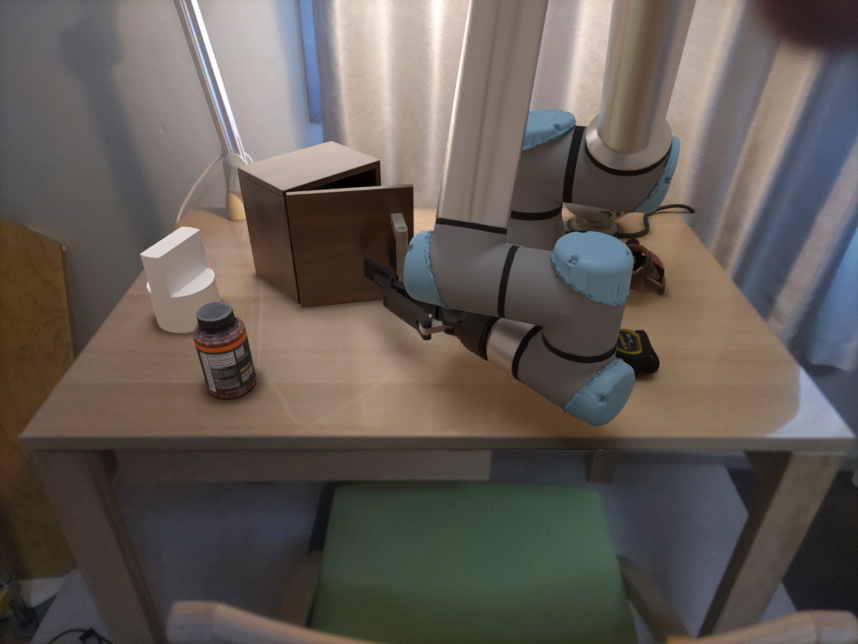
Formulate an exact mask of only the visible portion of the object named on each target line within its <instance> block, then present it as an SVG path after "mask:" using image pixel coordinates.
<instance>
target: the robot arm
mask: <svg viewBox="0 0 858 644" xmlns="http://www.w3.org/2000/svg"><path fill="white" fill-rule="evenodd" d="M549 1H550V0H469V3H468V9H467V14H466V15H467V16H466V22H465V29H464V33H463V34H464V35H463V41H462V47H461V55H460V59H459V65H458V71H457V78H456V83H455V84H456V85H455V91H454V97H453V103H452V110H451V116H450V122H449V129H448V136H447V143H446V147H445V156H444V161H443V166H442V174H441V180H440V186H439V191H438V192H439V193H438V199H437V204H436V210H435V221H434V226H433V229H431V230H420V231H418V232H416V233H414V237H413V238H412V240H411V242H410V244H409V249H408V253H407V255H406V257H405V262H404V272H403V275H404V283H403V282H401V281H399V276H398V275H397V274H395V273H393V272H392V271H390V270H388V269H386V268H385V267H383V266H381V265H380V264H378V263H376V262H374V261H373V260H371V259H369V258H366V259H363V260H364V276H365V277H366V278H368V279H370V280H371V281H373V282H374V285H375V287H377V288H379V289H380V290H382V299H381V300H382V307H384V309H386V310H388V311H389V312H391V313H392V314H393V315H394V316H396V317H397V318H399V319H400V320H402V321H403V322H404V323H405V324H407V325H409V326H410V327H412V328H413V329H414V330H416V331H417V333H418V334H419V336H420V338H421V340H423V341H431V340H432V338H433V334H437V333H442V332H443V333H444V334H446V335H449V336H453V337H456V338H457V339H458V340H459V341H460V343H461V344H462V345H463V347H465V348H466V349H467V350H468V351H470V352H471V353H473V354H474V355H476V356H477V357H479V358H481V359H482V360H484V361H487V362H489V363H490V364H491V365H493V366H494V367H496V368H497V369H499V370H500V371H502V372H504V373H505V374H507V375H508V376H509V377H511V378H512V379H514V380H516V381H518V382H519V383H521V384H522V385H524V386H526V387H527V388H529V389H530V390H532V391H533V392H535V393H536V394H538V395H540V396H541V397H543V398H544V399H546V400H547V401H548V402H550V403H552V404H553V405H555V406H556V407H558V408H560V409H561V410H562V412H563V413H565V414H567V415H568V414H569V415H571V416H572V417H574V418H576V419H578V420H580V421H582V422H584V423H586V424H587V425H590V426H593V427H603V426H605V425H607V424H609V423H610V422H611V421H613V420H614V419H615V418H616V417H617V416H618V415H619V414H620V413H621V411H622V410H623V409H624V407H625V405H626V404H627V402H628V401H629V400H630V399H629V398H630V397H631V395H632V392H633V390H634V387H635V383H636V375H634V370H633V368H632V367H631V366H630V365H628V364H626V363H625V362H623V360H622V359H619V358H616V357H615V354H616V350H617V339H618V335H619V331H620V329H621V328H622V322H623V318H624V315H625V310H626V306H627V302H628V300H629V297H630V296H629V295H630V290H629V288H630V282H631V276H632V274H633V272H634V271H633V265H634V261H633V255H632V253H631V251H630V249H629V248H628V247H627V245H626V244H625V242H623V241H622V240H621V239H618V238H635V237H640V236H643V235H645V234H647V233H648V232H649V230H650V222H649V219H648V217H649V215H651V214H654V213H656V212H660V211H664V210H669V209H684V210H687V211H688V212H689V213H691V214H695V213H696V211H695V209H694V208H693V207H691V206H690V205H687V204H684V203H671V204H665V205H662V203H664V201H665V198H666V196H667V194H668V191H669V189H670V187H671V181H672V180H673V177H674V175H675V172H676V168H677V164H678V161H679V156H680V150H681V141H680V138H678V136H676V135H673V132H672V128H671V125H670V123H669V121H668V120H667V115H668V112H669V108H670V104H671V99H672V96H673V92H674V87H675V84H676V80H677V76H678V73H679V69H680V64H681V61H682V57H683V54H684V49H685V45H686V42H687V37H688V33H689V30H690V26H691V22H692V19H693V18H692V17H693V14H694V10H695V6H696V3H697V0H612V4H611V13H610V21H609V29H608V38H607V45H606V53H605V62H604V70H603V71H604V72H603V80H602V87H601V97H600V102H599V113H598V114H597V115H595V116H594V117H593V119H592V120H591V121H590V123H589V124H588V125H578V124H577V120H576V116H575V115H574V114H573V113H572V112H570V111H564V110H563V109H548V108H547V109H536V110H530V108H531V102H532V98H533V91H534V87H535V81H536V74H537V70H538V63H539V58H540V52H541V47H542V41H543V35H544V29H545V24H546V19H547V13H548V6H549ZM564 203H571V204H578V205H584V206H591V207H597V208H604V209H610V210H616V211H623V212H626V213H627V214H634V213H639V214H643V224H644V229H642V230H640V231H635V232H620V233H616V234H617V237H616V238H615V237H613V236H610V235H607V234H604V233H600V232H594V231H568V230H566V229H565V228H566V227H565V223H564V219H563V207H564ZM389 265H390V266H391V267H393V268H395V269H396V270H397V264H396V249H395V248H394V247H392V248H390V249H389Z"/></svg>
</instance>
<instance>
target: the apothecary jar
mask: <svg viewBox="0 0 858 644" xmlns="http://www.w3.org/2000/svg"><path fill="white" fill-rule="evenodd" d="M563 205H564V206H565V207H566V209H567V210H568V211H569V212H570V213H571V214H572V215H574V216H575V217H573V218H570V219H569V220H568V221H567V222H566V224H565V228H566V231H594V232H600V233H604V234H607V235H610V236H613V237H615V238H618V237H617V234H616V233H621V227H620V225H619V224H618V223H617V222H615V221H616V220H619V219H621V218H623V217H625V216H626V215H627V214H628V213H626V212H623V211H616V210H610V209H604V208H597V207H591V206H584V205H578V204H571V203H564V202H563Z"/></svg>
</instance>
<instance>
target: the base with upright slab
mask: <svg viewBox="0 0 858 644" xmlns="http://www.w3.org/2000/svg"><path fill="white" fill-rule="evenodd" d="M204 246H205V245H204V241H203V238H202V233H201V229H199V228H195V227H193V226H192V227H191V226H181V227H179V228H177V229H176V230H174V231H172V232H171V233H169V234H168V235H166V236H165V237H163V238H162V239H161V240H158V241H157V242H156V243H154V244H153V245H151V246H149V247H148V248H147V249H145V250H144V251H142V252H141V253H139V256H140V259H141V262H142V266H143V270H144V272H145V275H146V279H147V282H146V290H147V293H148V296H149V299H150V302H151V305H152V309H153V313H154V315H155V319H156V323H157V325H158V326H159V327H160V329H162V330H163V331H166V332H169V333H173V334H189V333H193V331H194V329H195V327H196V325H197V324H198V322H197V316H196V313H197V310H198V309H199V308H200V307H201V306H203V305H205V304H207V303H211V302H222V301H221V296H220V291H219V288H218V287H219V286H218V283H217V279H216V274H215V272H214V271H213V269H212V268H210V267H209V263H208V259H207V254H206V250H205V247H204Z"/></svg>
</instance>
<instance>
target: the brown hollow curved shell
mask: <svg viewBox="0 0 858 644" xmlns="http://www.w3.org/2000/svg"><path fill="white" fill-rule="evenodd" d="M624 244H626V245H627V247H628V248H629V249H630V251H631V253H632V255H633V261H634V265H633V271H632V276H631V282H630V288H629V291H636V290H637V291H639V292H644V291H645V289H644V280H645V279H646V280H650V281H651V280H653V281H655V282H657V283H658V284H659V285H660V287H661V295H663V296H664V295H665V294H666V287H667V280H666V276H665V275H666V274H665V273H666V271H665V267H664V264H663V262H662V261H661V259H660V258H659V256H658V255H657V254H655V253H653V252H652V251H650V250H649V249H648V248H647V247H646V246H644V245H641V243H640V240H638V238H637V237H636V238H635V237H631V238H629V239H627V240H626V241H625V242H624Z"/></svg>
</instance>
